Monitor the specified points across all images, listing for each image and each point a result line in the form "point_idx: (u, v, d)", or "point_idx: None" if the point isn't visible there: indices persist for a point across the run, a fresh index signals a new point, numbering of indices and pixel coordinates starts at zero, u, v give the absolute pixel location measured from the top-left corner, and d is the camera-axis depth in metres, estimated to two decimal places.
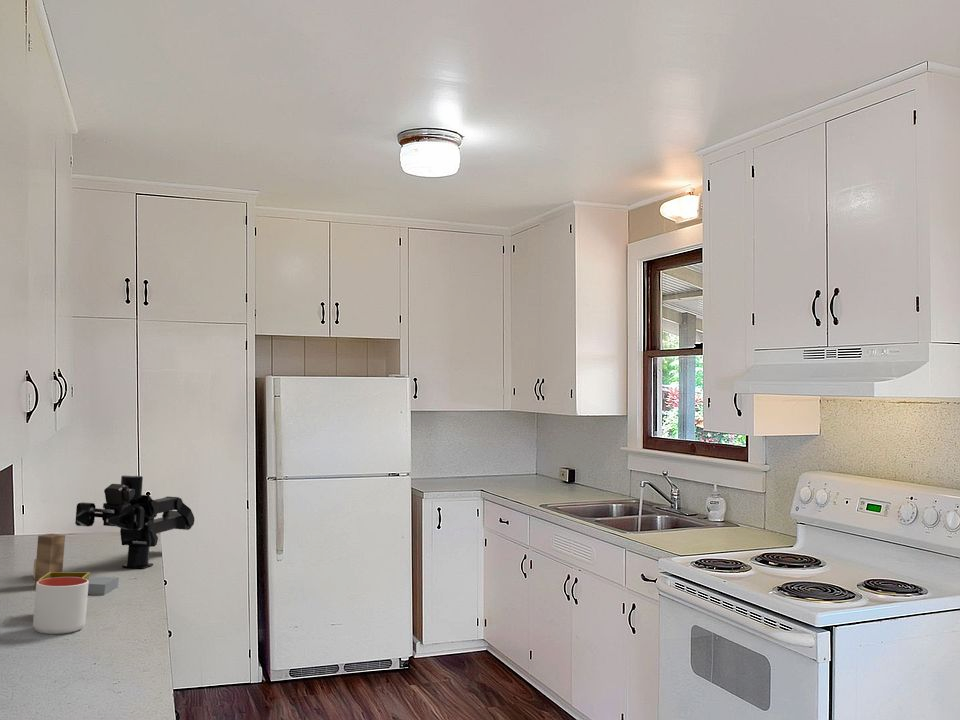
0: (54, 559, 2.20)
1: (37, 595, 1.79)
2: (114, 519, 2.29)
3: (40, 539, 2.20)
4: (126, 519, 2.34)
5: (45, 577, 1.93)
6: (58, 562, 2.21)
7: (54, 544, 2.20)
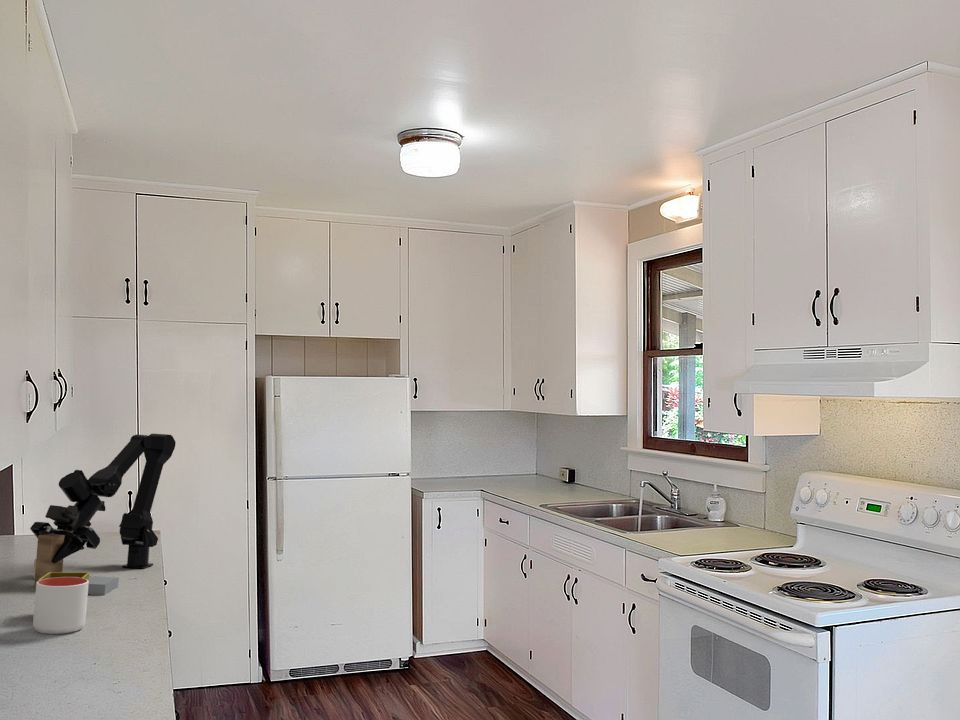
0: None
1: (37, 595, 1.79)
2: (58, 556, 2.20)
3: (40, 539, 2.20)
4: (72, 543, 2.24)
5: (45, 577, 1.93)
6: (58, 562, 2.21)
7: (54, 544, 2.20)
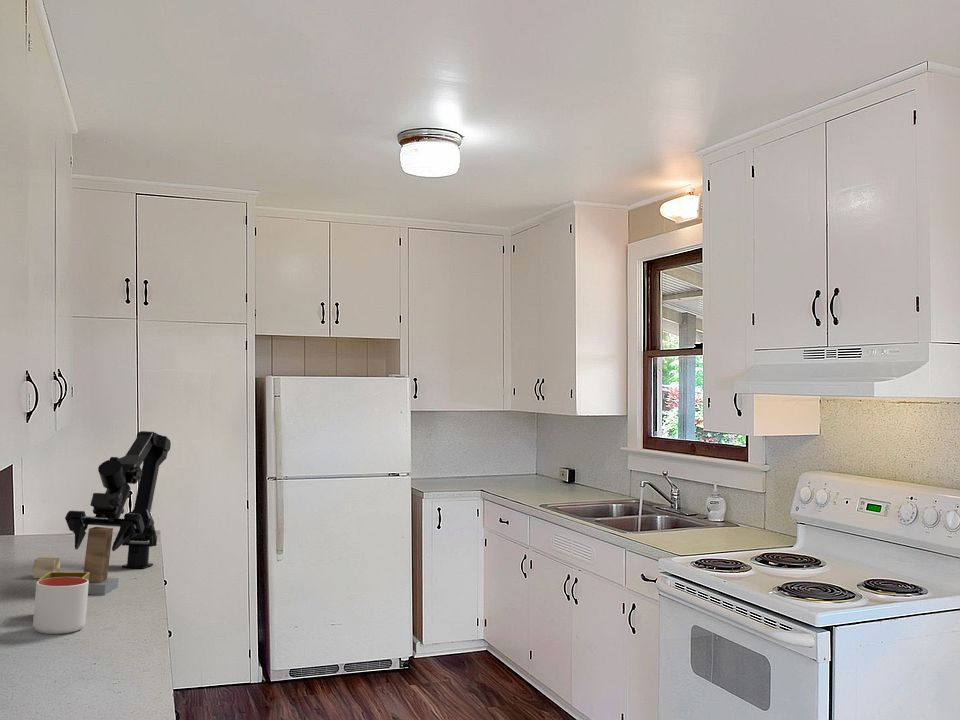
0: (105, 552, 2.19)
1: (37, 595, 1.79)
2: (117, 544, 2.20)
3: (91, 532, 2.18)
4: (126, 530, 2.24)
5: (45, 577, 1.93)
6: (107, 555, 2.21)
7: (106, 537, 2.19)
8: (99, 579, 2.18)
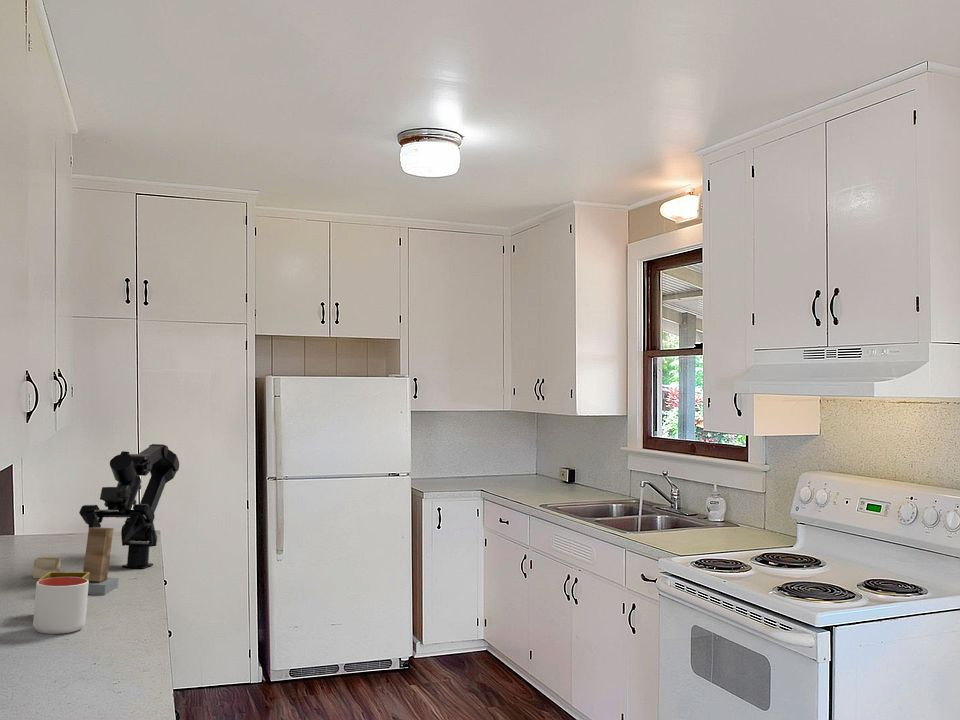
0: (105, 552, 2.19)
1: (37, 595, 1.79)
2: (128, 534, 2.29)
3: (91, 531, 2.19)
4: (136, 520, 2.33)
5: (45, 577, 1.93)
6: (107, 555, 2.21)
7: (106, 536, 2.20)
8: (99, 578, 2.17)
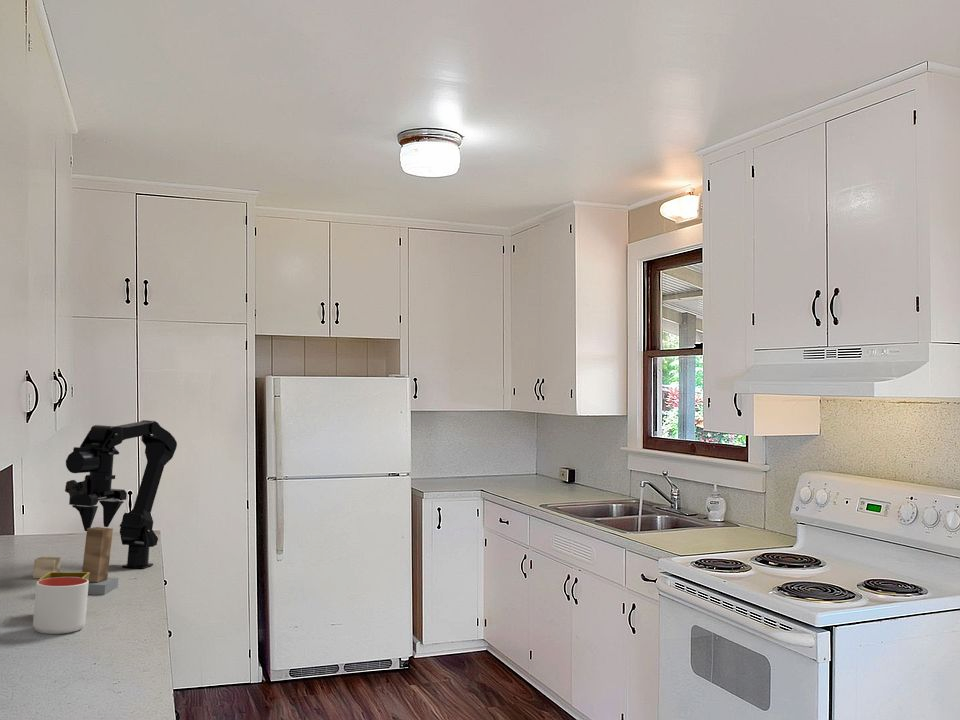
0: (103, 552, 2.19)
1: (37, 595, 1.79)
2: (84, 525, 2.31)
3: (89, 532, 2.19)
4: None
5: (45, 577, 1.93)
6: (106, 556, 2.20)
7: (104, 537, 2.19)
8: (96, 579, 2.17)
